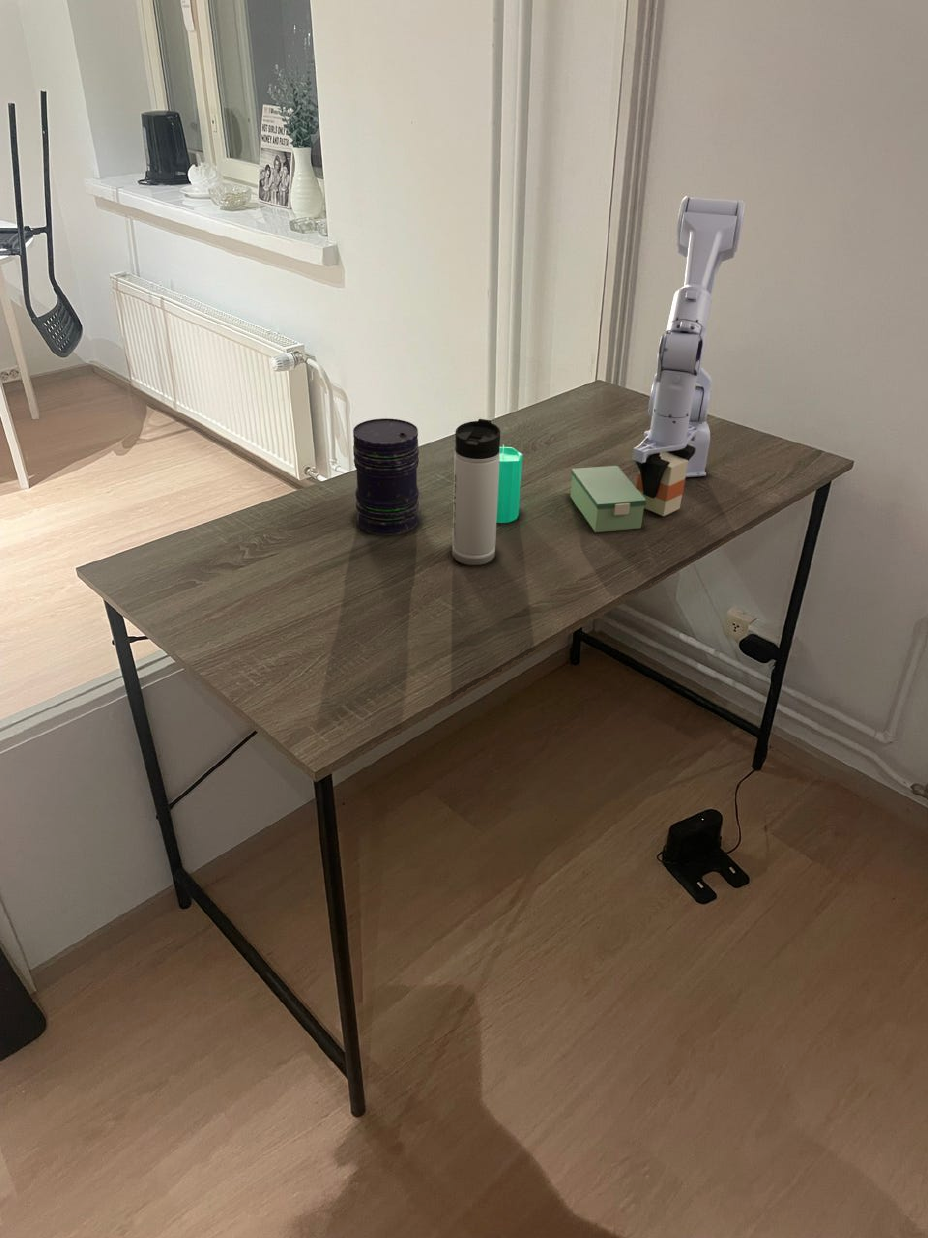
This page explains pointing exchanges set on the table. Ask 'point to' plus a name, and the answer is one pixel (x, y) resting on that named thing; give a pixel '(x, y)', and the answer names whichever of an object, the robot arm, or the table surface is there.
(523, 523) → the table surface
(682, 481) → the juice carton
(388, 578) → the table surface
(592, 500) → the lunchbox
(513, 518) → the candle
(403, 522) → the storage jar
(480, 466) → the travel mug
